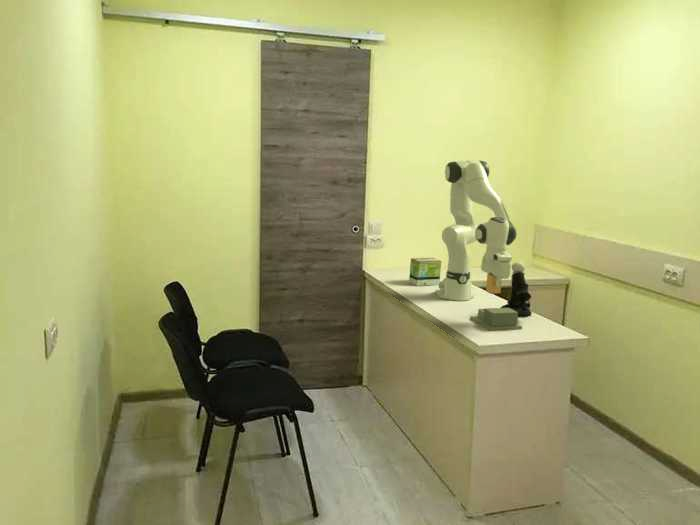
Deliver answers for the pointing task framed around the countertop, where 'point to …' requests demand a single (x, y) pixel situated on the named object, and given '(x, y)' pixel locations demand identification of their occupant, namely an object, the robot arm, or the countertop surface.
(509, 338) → the countertop surface
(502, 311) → the green plate with frame
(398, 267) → the countertop surface
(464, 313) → the countertop surface
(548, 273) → the countertop surface
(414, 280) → the tea box
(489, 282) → the yellow box green face
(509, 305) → the sculpture
